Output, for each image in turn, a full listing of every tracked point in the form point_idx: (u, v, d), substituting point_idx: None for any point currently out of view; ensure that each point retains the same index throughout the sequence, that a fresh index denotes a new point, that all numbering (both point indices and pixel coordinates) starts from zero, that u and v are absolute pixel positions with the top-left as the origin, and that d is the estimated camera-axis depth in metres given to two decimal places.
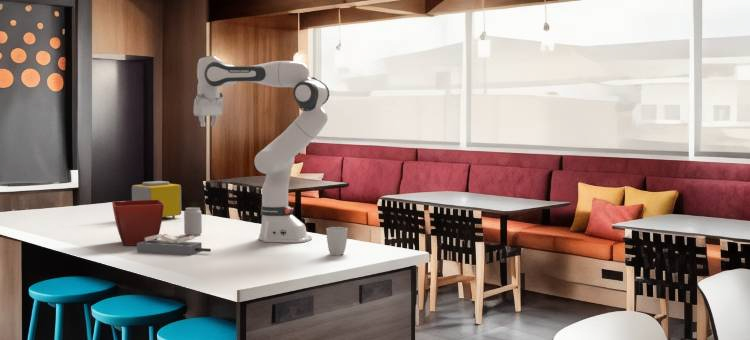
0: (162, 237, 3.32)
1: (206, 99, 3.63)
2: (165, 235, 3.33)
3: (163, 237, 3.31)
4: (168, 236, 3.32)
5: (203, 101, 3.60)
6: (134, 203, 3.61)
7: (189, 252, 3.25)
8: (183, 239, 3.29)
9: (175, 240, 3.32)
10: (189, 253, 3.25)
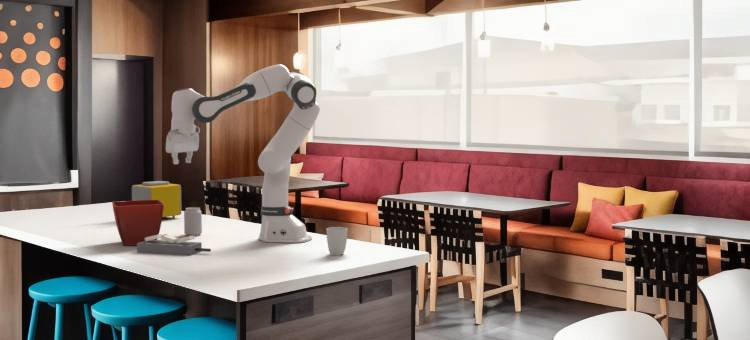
0: (162, 237, 3.32)
1: (180, 135, 3.37)
2: (165, 235, 3.33)
3: (163, 237, 3.31)
4: (168, 236, 3.32)
5: (176, 137, 3.35)
6: (134, 203, 3.61)
7: (189, 252, 3.25)
8: (183, 239, 3.29)
9: (175, 240, 3.32)
10: (189, 253, 3.25)
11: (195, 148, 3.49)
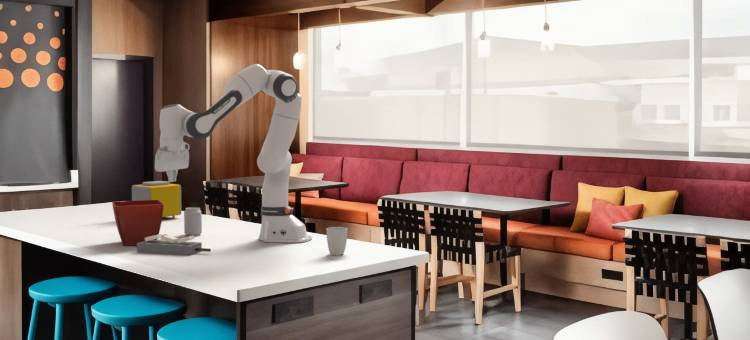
0: (162, 237, 3.32)
1: (169, 152, 3.28)
2: (165, 235, 3.33)
3: (163, 237, 3.31)
4: (168, 236, 3.32)
5: (165, 155, 3.25)
6: (134, 203, 3.61)
7: (189, 252, 3.25)
8: (183, 239, 3.29)
9: (175, 240, 3.32)
10: (189, 253, 3.25)
11: (185, 165, 3.40)
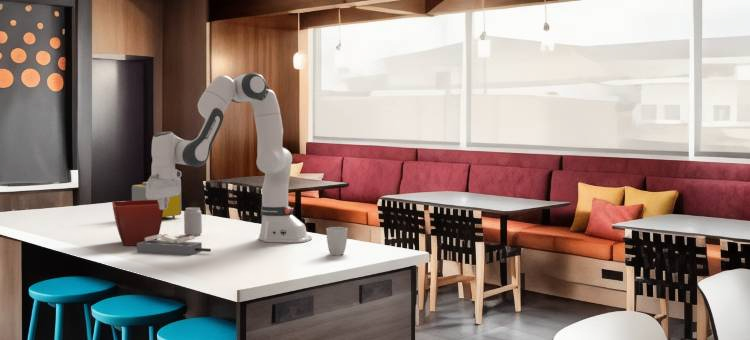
0: (162, 237, 3.32)
1: (160, 180, 3.26)
2: (165, 235, 3.33)
3: (163, 237, 3.31)
4: (168, 236, 3.32)
5: (157, 184, 3.24)
6: (134, 203, 3.61)
7: (189, 252, 3.25)
8: (183, 239, 3.29)
9: (175, 240, 3.32)
10: (189, 253, 3.25)
11: (177, 192, 3.38)
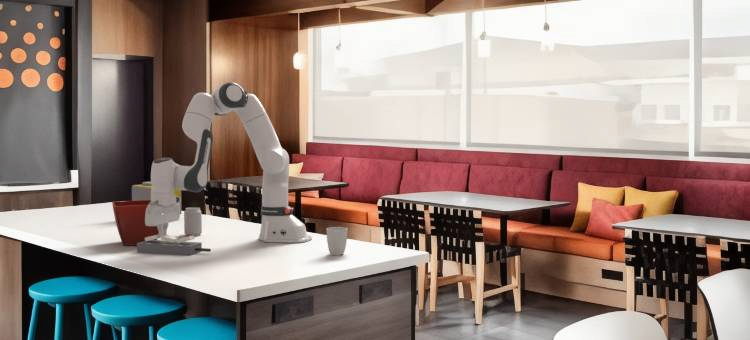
0: (162, 237, 3.32)
1: (160, 207, 3.27)
2: (165, 235, 3.33)
3: (163, 237, 3.31)
4: (168, 236, 3.32)
5: (156, 210, 3.25)
6: (134, 203, 3.61)
7: (189, 252, 3.25)
8: (183, 239, 3.29)
9: (175, 240, 3.32)
10: (189, 253, 3.25)
11: (176, 218, 3.39)
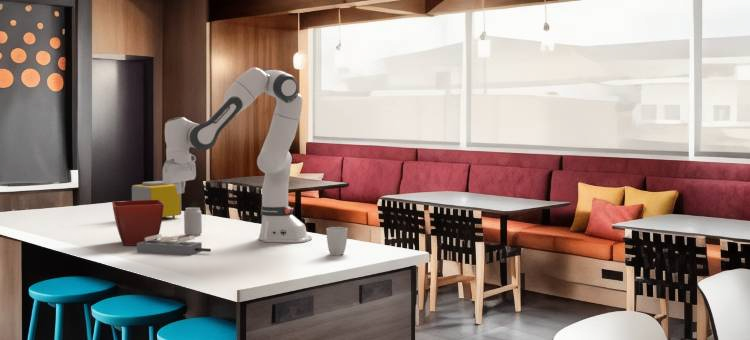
0: (162, 239, 3.32)
1: (176, 165, 3.32)
2: (164, 237, 3.33)
3: (163, 239, 3.31)
4: (167, 236, 3.33)
5: (173, 168, 3.30)
6: (134, 203, 3.61)
7: (189, 252, 3.25)
8: (183, 239, 3.29)
9: (175, 237, 3.32)
10: (189, 253, 3.25)
11: (192, 177, 3.44)
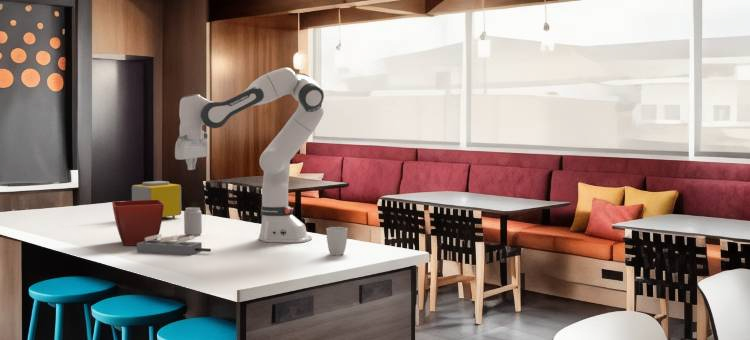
0: (162, 239, 3.32)
1: (189, 141, 3.36)
2: (164, 237, 3.33)
3: (163, 239, 3.31)
4: None
5: (185, 144, 3.34)
6: (134, 203, 3.61)
7: (189, 252, 3.25)
8: (183, 239, 3.29)
9: (175, 237, 3.32)
10: (189, 253, 3.25)
11: (204, 154, 3.48)
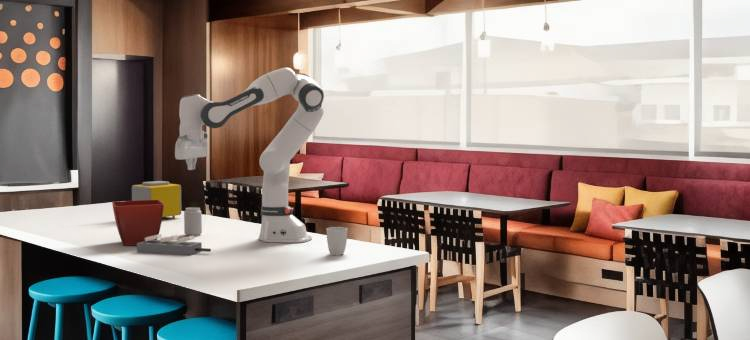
0: (162, 240, 3.32)
1: (189, 141, 3.36)
2: (164, 237, 3.33)
3: (163, 239, 3.31)
4: None
5: (185, 144, 3.34)
6: (134, 203, 3.61)
7: (189, 252, 3.25)
8: (183, 239, 3.29)
9: (175, 236, 3.32)
10: (189, 253, 3.25)
11: (204, 154, 3.48)
